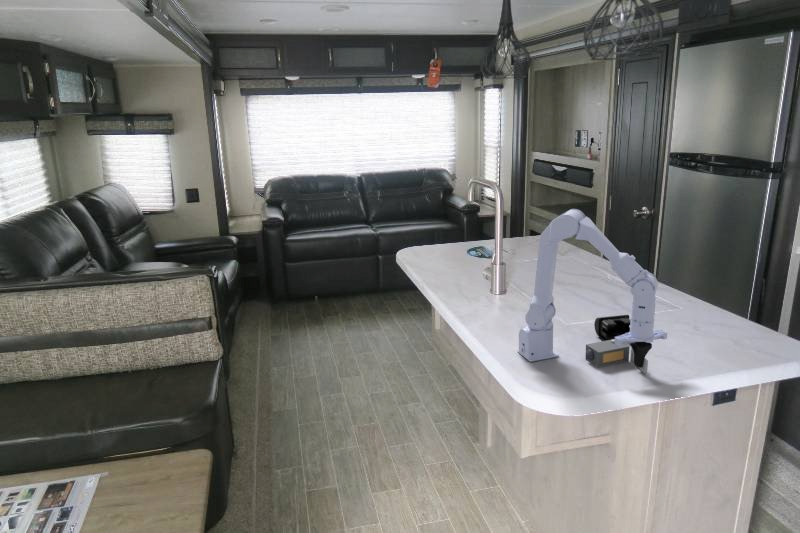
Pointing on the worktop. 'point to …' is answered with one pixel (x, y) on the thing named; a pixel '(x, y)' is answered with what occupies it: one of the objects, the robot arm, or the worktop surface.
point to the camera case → (606, 353)
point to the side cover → (645, 363)
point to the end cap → (612, 326)
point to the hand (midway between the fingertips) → (638, 366)
